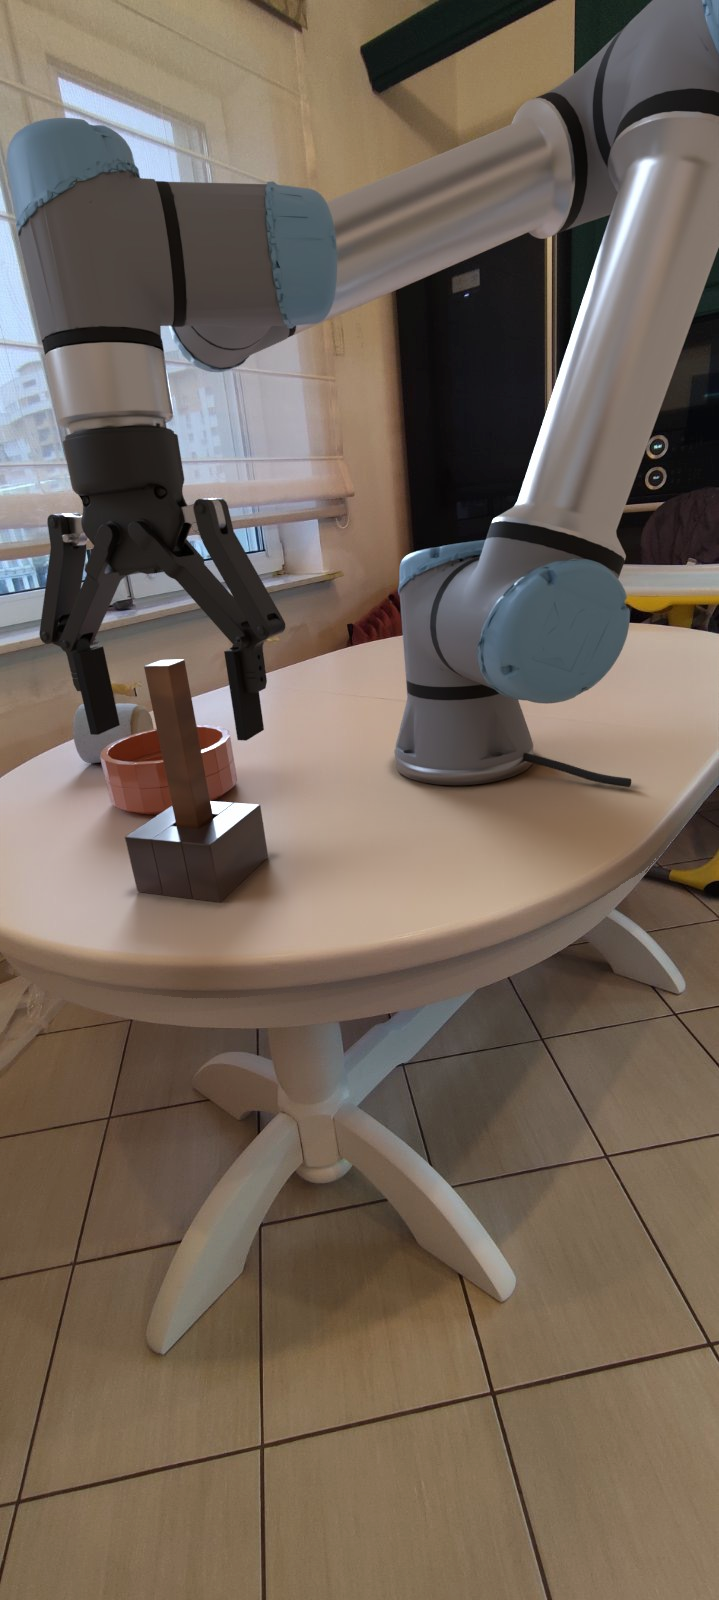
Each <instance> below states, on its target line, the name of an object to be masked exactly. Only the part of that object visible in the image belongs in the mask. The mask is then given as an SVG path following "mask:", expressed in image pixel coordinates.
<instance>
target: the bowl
mask: <svg viewBox="0 0 719 1600" xmlns="http://www.w3.org/2000/svg"><path fill="white" fill-rule="evenodd" d="M196 726H197V731H198V737H199V742H200V748H201V753H202V759H203V764H204V770H205V775H206V781H207V786H208V792H209V797H210V801H216V800H217V799H219V798H220V797H222V796H223V795H224V794H226V793H227V792H228V791H230V790H231V789H233V788H234V786H235V785H236V783H237V781H238V775H237V769H236V763H235V758H234V751H233V745H232V740H231V739H232V738H231V735H230V732H229V730H228V729H226V728H223V727H222V726H217V725H211V724H196ZM100 759H101V767H102V771H103V775H104V779H105V783H106V788H107V792H108V797H109V801H110V803H111V804H112V805H113V806H114V807H115V808H117V809H120V810H123V811H126V812H131V813H135V814H140V815H159V814H160V813H162V812H163V811H165V810H166V809H168V808H169V807H171V806H172V802H171V797H170V792H169V787H168V782H167V777H166V772H165V767H164V763H163V758H162V753H161V748H160V743H159V738H158V733H157V728H154V729H153V730H148V731H144V732H140V733H136V734H133V735H130V736H127V737H124V738H121V739H119V740H117V741H115V742H113V743H111V744H109V745H108V746H106V747H105V748H104V749H103V750H102V751H101V755H100Z"/></svg>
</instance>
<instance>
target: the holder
mask: <svg viewBox="0 0 719 1600" xmlns="http://www.w3.org/2000/svg"><path fill="white" fill-rule="evenodd" d="M210 803H211V808H212V814H213V819H212V820H211V821H210V822H208V823H207V824H206V825H204V826H203V827H202V828H200V829H198V828H187V827H176V822H175V817H174V812H173V807H172V806H171V807H169V808H168V809H166V810H165V811H163V812H162V813H160V814H156V815H155V816H154V817H153V818H151V819H150V820H148V821H146V822H144V824H142V825H140V826H139V827H138V828H136V829H135V830H133V831H132V832H130V833H128V834H126V835H125V836H124V839H125V840H124V841H125V843H126V844H125V845H126V848H127V852H128V857H129V861H130V865H131V870H132V875H133V879H134V883H135V887H136V892H138V893H145V894H153V895H160V896H161V895H162V896H167V897H176V898H184V899H189V900H190V899H191V900H193V899H194V900H200V901H209V902H216V903H221V902H222V901H224V900H225V899H226V898H227V897H228V896H229V895H230V894H231V893H232V892H233V891H235V889H236V888H237V887H238V886H239V885H240V884H242V883H243V882H244V881H245V880H246V879H247V878H248V877H249V876H250V875H251V874H252V873H253V872H254V871H255V870H256V869H257V868H258V867H259V866H260V865H261V864H263V862H265V861H266V860H267V859H268V858H269V853H268V846H267V840H266V832H265V826H264V820H263V813H262V807H261V804H256V803H255V804H254V803H241V802H227V801H216V800H214V801H210Z"/></svg>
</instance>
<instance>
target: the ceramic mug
mask: <svg viewBox="0 0 719 1600" xmlns="http://www.w3.org/2000/svg"><path fill="white" fill-rule="evenodd" d="M115 704H116V709H117V714H118V719H119V723H120V725H119V726H117V727H115V728H112V729H110V730H108V731H106V732H103V733H101V734H99V735H91V734H90V730H89V725H88V721H87V716H86V712H85V708H84V703H82V704H80V705H79V706H78V707H77V709H76V711H75V713H74V716H73V722H72V734H73V742H74V746H75V749H76V752H77V754H78V756H79V757H80V759H81V760H82V761H83V762H84V763H87V764H98V763H101V759H100V755H101V751H102V750H103V749H104V748H105V747H106V746H108V745H109V744H111V743H113V742H115V741H117V740H119V739H121V738H124V737H127V736H130V735H133V734H136V733H140V732H144V731H148V730H153V729H155V728H154V722H153V718H152V715H151V713H150V712H149V710H148V709H147V708H146V707H145V706H144V705H140V704H135V703H124V702H123V703H122V702H121V703H115ZM101 764H102V763H101Z"/></svg>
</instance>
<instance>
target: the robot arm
mask: <svg viewBox="0 0 719 1600" xmlns="http://www.w3.org/2000/svg"><path fill="white" fill-rule="evenodd" d="M5 162H6V163H5V164H6V170H7V177H8V182H9V187H10V188H9V189H10V194H11V199H12V205H13V212H14V218H15V223H16V225H15V227H16V232H17V239H18V242H19V246H20V251H21V256H22V259H23V265H24V268H25V273H26V277H27V282H28V285H29V290H30V294H31V300H32V303H33V308H34V313H35V317H36V321H37V326H38V330H39V335H40V340H41V344H42V348H43V353H44V358H45V364H46V369H47V374H48V379H49V385H50V390H51V396H52V399H53V404H54V409H55V410H54V411H55V415H56V421H57V423H58V424H59V425H60V426H61V427H62V428H65V429H68V430H69V434H67V435H66V436H65V437H64V439H65V440H63V441H62V446H63V451H64V455H65V461H66V465H67V470H68V475H69V479H70V485H71V488H72V490H73V492H74V493H75V494H76V495H77V496H78V497H79V498H80V500H81V503H82V514H79V513H78V512H67V513H51V514H49V516H48V517H47V520H46V522H47V530H48V537H49V543H50V544H49V545H50V551H49V557H48V558H49V559H48V565H47V566H48V567H47V574H46V581H45V588H44V595H43V596H44V597H43V602H42V611H41V617H40V618H41V619H40V624H39V625H40V627H39V638H40V640H41V642H42V643H44V644H46V645H49V644H52V645H55V646H58V647H59V648H61V650H62V651H63V652H65V654H66V658H67V662H68V666H69V671H70V674H71V679H72V683H73V684H72V685H73V686H74V688H75V690H76V692H80V695H81V699H82V704H84V708H85V712H86V716H87V721H88V725H89V730H90V734H91V735H99V734H101V733H103V732H106V731H108V730H110V729H112V728H115V727H117V726H119V725H120V723H119V719H118V714H117V709H116V704H117V703H116V700H115V696H114V692H113V691H114V690H113V686H112V681H111V677H110V672H109V668H108V663H107V658H106V654H105V649H104V646H94V645H97V644H99V642H100V641H99V640H97V638H96V637H97V635H98V632H99V630H100V628H101V626H102V624H103V621H104V620H105V617H106V614H107V612H108V610H109V608H110V605H111V603H112V601H113V599H114V596H115V594H116V592H117V590H118V587H119V585H120V583H121V581H122V580H123V579H125V578H126V577H127V576H130V575H131V576H132V575H138V574H145V575H150V574H151V575H153V574H160V573H164V575H166V576H167V577H169V578H171V579H173V580H175V582H177V583H178V584H179V585H180V586H181V587H182V588H183V590H184V591H185V592H186V593H187V594H188V596H190V598H191V599H192V600H193V601H194V602H195V603H196V604H197V606H199V608H200V610H201V611H203V612H204V613H205V614H206V616H207V617H208V618H209V619H210V620H211V622H212V623H213V624H214V625H215V626H216V627H217V628H218V629H219V631H221V632H222V634H223V635H224V636H225V638H227V640H228V641H230V643H231V644H232V645H231V647H230V648H229V649H226V650H223V655H224V661H225V667H226V673H227V674H226V675H227V680H228V685H229V693H230V699H231V705H232V713H233V720H234V725H235V726H234V727H235V732H236V738H237V741H244V742H245V741H249V740H251V738H253V737H255V736H256V735H258V734H259V733H261V732H263V731H264V730H265V725H264V719H263V712H262V704H261V698H260V692H262V691H263V690H265V689H266V687H267V682H268V679H267V674H266V673H267V671H266V664H265V663H266V662H265V656H264V644H265V642H266V641H267V640H269V639H272V638H273V637H275V636H278V635H279V634H282V633H284V632H285V630H286V622H285V619H284V617H283V616H282V614H281V613H280V611H279V609H278V607H277V606H276V604H275V602H274V600H273V599H272V597H271V595H270V593H269V591H268V590H267V588H266V586H265V584H264V582H263V580H262V579H261V576H260V575H259V574H258V572H257V570H256V568H255V565H253V562H252V561H251V559H250V557H249V556H248V554H247V552H246V551H245V549H244V547H243V545H242V544H241V542H240V540H239V538H238V536H237V535H236V533H235V531H234V526H233V522H232V518H231V513H230V510H229V505H228V503H227V501H226V500H225V499H224V498H222V497H215V498H213V497H211V498H197V499H196V500H195V501H194V502H193V504H188V503H187V501H186V500H185V496H184V493H183V489H184V488H183V487H184V483H185V476H184V468H183V462H182V456H181V450H180V449H181V448H180V443H179V436H178V434H177V433H175V430H173V429H172V428H168V426H167V423H169V422H171V421H172V420H173V418H174V417H175V414H174V408H173V402H172V401H173V400H172V394H171V389H170V382H169V375H168V369H167V364H166V363H167V362H166V357H165V350H164V343H163V339H162V332H161V331H162V328H161V327H168V328H169V333H170V335H171V339H172V342H173V344H174V345H175V347H176V348H177V349H178V352H179V353H180V354H181V355H182V357H184V359H186V360H187V361H188V362H189V363H191V364H192V365H193V366H194V367H196V368H198V369H200V370H202V371H206V372H210V373H224V372H227V371H230V370H233V369H235V368H238V367H239V366H241V365H244V364H245V362H246V360H247V359H249V358H250V357H251V356H253V355H254V354H256V353H258V352H261V351H263V350H266V349H268V348H270V347H273V346H274V345H277V344H280V343H281V342H283V341H285V340H288V338H290V337H293V336H294V335H297V334H299V333H302V332H304V331H306V330H308V329H311V328H313V327H315V326H318V325H320V324H322V323H325V322H326V321H329V320H331V319H333V318H335V317H339V316H340V315H344V314H345V313H347V312H350V311H352V310H354V309H357V308H359V307H361V306H363V305H365V304H368V303H370V302H372V301H374V300H377V299H379V298H382V297H384V296H386V295H388V294H391V293H393V292H396V291H397V290H400V289H403V288H405V287H406V286H409V285H411V284H413V283H416V282H418V281H420V280H422V279H425V278H427V277H429V276H431V275H434V274H436V273H438V272H441V271H442V270H446V269H448V268H449V267H452V266H455V265H457V264H460V263H461V262H464V261H466V260H468V259H470V258H473V257H475V256H478V255H479V254H482V253H485V252H486V251H489V250H491V249H493V248H496V247H498V246H501V245H503V244H505V243H507V242H510V241H511V240H514V239H516V238H518V237H520V236H523V235H525V234H530V235H531V236H532V237H534V238H537V239H540V240H542V239H548V238H551V237H554V236H556V235H558V234H560V233H562V232H564V231H567V230H570V229H573V228H575V227H578V226H580V225H584V224H587V223H590V222H592V221H595V220H599V219H602V218H604V217H607V216H609V218H608V221H607V225H606V227H605V231H604V233H603V237H602V240H601V243H600V246H599V249H598V252H597V255H596V258H595V261H594V264H593V267H592V270H591V272H590V273H591V274H590V277H589V280H588V282H587V286H586V288H585V292H584V294H583V298H582V301H581V303H580V304H581V305H580V307H579V310H578V314H577V317H576V320H575V323H574V326H573V328H572V332H571V335H570V338H569V341H568V344H567V348H566V350H565V352H564V356H563V359H562V362H561V365H560V368H559V372H558V375H557V378H556V381H555V384H554V387H553V389H552V393H551V396H550V399H549V402H548V405H547V409H546V411H545V415H544V417H543V420H542V425H541V427H540V430H539V433H538V436H537V439H536V442H535V446H534V448H533V452H532V453H531V458H530V460H529V464H528V467H527V470H526V472H525V477H524V479H523V481H522V485H521V488H520V492H519V494H518V498H517V501H516V502H515V504H514V506H512V507H511V508H509V509H507V510H506V511H504V512H502V513H501V514H499V515H497V516H496V517H493V519H492V521H491V523H490V525H489V529H488V532H487V535H486V538H485V539H481V540H473V541H467V542H459V543H452V544H447V545H442V546H437V547H429V548H424V549H420V550H416V551H413V552H410V553H409V554H407V555H405V556H404V557H403V558H402V560H401V562H400V564H399V581H398V582H399V584H398V588H397V593H398V596H399V602H400V616H401V617H400V618H401V631H402V642H403V643H402V644H403V645H402V646H403V658H404V670H405V671H404V672H405V683H406V702H405V707H404V710H403V715H402V720H401V722H400V726H399V730H398V731H399V732H398V735H397V739H396V742H395V747H394V748H395V749H394V761H395V762H394V763H395V769H396V770H397V772H399V773H400V774H401V775H403V776H405V777H406V778H409V779H411V780H414V781H416V782H417V781H418V782H421V783H425V784H433V785H443V786H470V785H480V784H487V783H493V782H499V781H502V780H506V779H509V778H512V777H515V776H517V775H519V774H521V773H524V772H525V771H527V770H528V769H529V768H530V767H531V766H532V764H535V765H537V766H542V767H545V768H550V769H552V770H557V771H559V772H563V773H566V774H568V775H572V776H575V777H578V778H582V779H585V780H588V781H592V782H595V783H600V784H605V785H612V786H618V787H624V788H625V787H627V788H630V787H631V786H632V778H630V777H622V776H615V775H607V774H603V773H597V772H594V771H591V770H587V769H584V768H581V767H580V768H579V767H576V766H574V765H571V764H568V763H565V762H561V761H557V760H553V759H551V758H547V757H543V756H540V755H536V754H534V743H533V739H532V736H531V732H530V729H529V726H528V724H527V722H526V719H525V716H524V712H523V709H522V707H521V703H520V701H526V702H530V703H535V704H558V703H562V702H566V701H569V700H571V699H575V698H576V697H577V696H579V695H581V694H582V693H584V692H586V691H589V690H590V689H592V688H593V687H595V685H597V684H598V683H599V682H600V681H601V680H602V679H603V678H605V676H607V674H608V673H609V672H610V671H611V669H612V667H613V666H614V665H615V663H616V661H617V660H618V658H619V657H620V655H621V653H622V651H623V649H624V646H625V644H626V641H627V638H628V633H629V628H630V620H631V611H630V608H629V607H628V606H627V605H626V600H627V599H628V595H627V593H626V590H625V587H624V586H623V583H621V581H620V579H619V578H620V575H621V573H622V570H623V568H624V564H625V562H626V558H627V555H626V553H625V550H624V548H623V547H622V544H621V542H620V540H619V538H618V535H617V530H618V527H619V525H620V522H621V518H622V515H623V513H624V511H625V507H626V505H627V502H628V500H629V497H630V494H631V491H632V488H633V485H634V483H635V480H636V477H637V474H638V472H639V469H640V466H641V463H642V460H643V458H644V455H645V453H646V452H645V451H646V450H647V447H648V443H649V441H650V438H651V436H652V434H653V430H654V427H655V424H656V422H657V419H658V417H659V413H660V410H661V408H662V406H663V402H664V400H665V397H666V395H667V392H668V389H669V386H670V383H671V380H672V377H673V375H674V371H675V369H676V367H677V364H678V360H679V358H680V355H681V352H682V350H683V347H684V344H685V342H686V339H687V336H688V334H689V330H690V328H691V325H692V322H693V320H694V318H695V317H694V316H695V314H696V311H697V309H698V306H699V303H700V301H701V297H702V294H703V292H704V290H705V286H706V283H707V281H708V279H709V276H710V272H711V269H712V267H713V264H714V262H715V259H716V256H717V253H718V251H719V0H651V1H650V2H649V3H647V5H646V6H645V7H644V8H642V10H640V11H639V13H638V14H636V15H635V16H634V17H633V18H632V19H631V20H630V21H629V22H628V24H626V25H625V26H624V27H623V28H622V29H621V30H620V31H618V33H616V34H615V35H614V36H613V37H612V38H611V40H609V41H608V42H607V43H606V44H605V45H604V46H603V47H602V48H601V49H600V50H599V51H598V52H597V53H596V54H595V55H594V56H592V58H590V59H589V60H588V61H587V62H586V63H585V64H584V65H583V66H581V67H580V68H579V69H578V70H577V71H576V72H575V73H573V74H572V75H571V76H569V77H568V78H567V79H565V80H564V81H562V83H560V84H558V85H557V86H555V87H554V88H552V89H551V90H549V91H547V92H545V93H543V94H541V95H538V96H536V97H533V98H531V99H529V100H527V101H525V102H524V103H523V104H522V105H521V106H520V107H519V108H518V109H517V111H516V113H515V114H514V116H513V119H512V122H511V124H508V125H506V126H504V127H501V128H499V129H497V130H494V131H492V132H490V133H488V134H485V135H482V136H480V137H477V138H475V139H473V140H470V141H468V142H466V143H463V144H461V145H458V146H456V147H454V148H451V149H448V150H446V151H443V152H442V153H440V154H437V155H434V156H433V157H430V158H427V159H425V160H423V161H420V162H418V163H416V164H413V165H410V166H408V167H406V168H404V169H401V170H399V171H397V172H394V173H391V174H389V175H387V176H384V177H382V178H380V179H377V180H375V181H373V182H370V183H368V184H365V185H363V186H361V187H359V188H358V187H357V188H356V189H353V190H351V191H349V192H346V193H344V194H342V195H339V196H337V197H335V198H332V199H329V200H327V201H326V200H325V197H324V196H323V195H322V194H321V193H320V192H318V191H317V190H315V189H312V188H307V187H300V186H293V185H286V184H278V183H276V182H275V181H272V180H271V181H267V182H266V183H234V182H199V181H198V182H197V181H195V182H193V181H166V180H165V181H164V180H161V181H160V180H155V178H142V177H141V176H140V170H139V168H138V167H137V165H136V163H135V159H134V155H133V152H132V149H131V147H130V145H129V144H128V142H127V141H126V140H125V139H124V138H123V136H122V135H121V134H119V133H118V132H117V131H115V130H113V129H112V128H111V127H109V126H106V125H103V124H96V125H95V124H89V122H88V121H86V120H85V119H82V118H75V117H54V118H52V117H51V118H46V119H40V120H37V121H34V122H31V123H29V124H27V125H25V126H23V127H21V128H20V129H19V130H18V131H17V132H16V133H15V134H14V135H13V137H12V138H11V140H10V142H9V143H8V146H7V150H6V159H5ZM191 530H192V531H193V532H195V533H196V534H197V535H198V536H199V537H200V539H201V541H202V544H203V546H204V548H205V550H206V552H207V554H208V555H209V557H210V559H211V560H212V562H213V564H214V566H215V568H216V569H217V571H218V573H219V574H220V576H221V578H222V579H223V581H224V583H225V585H226V586H227V588H228V589H227V588H226V587H225V586H224V584H223V583H222V582H221V581H220V580H219V579H218V578H217V577H216V575H215V574H214V573H213V572H212V570H210V569H209V568H208V566H206V564H205V559H204V557H203V555H201V554H200V552H199V551H198V550H197V549H196V547H194V546H193V545H192V543H191V542H190V541H189V540H188V536H189V533H190V531H191ZM89 541H90V542H91V544H92V545H93V546H92V549H91V552H90V555H89V557H88V559H87V562H86V558H87V557H86V556H87V543H88V542H89ZM84 572H85V573H86V575H85V578H84V580H83V577H84ZM82 581H83V582H82ZM91 646H94V647H91Z"/></svg>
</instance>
